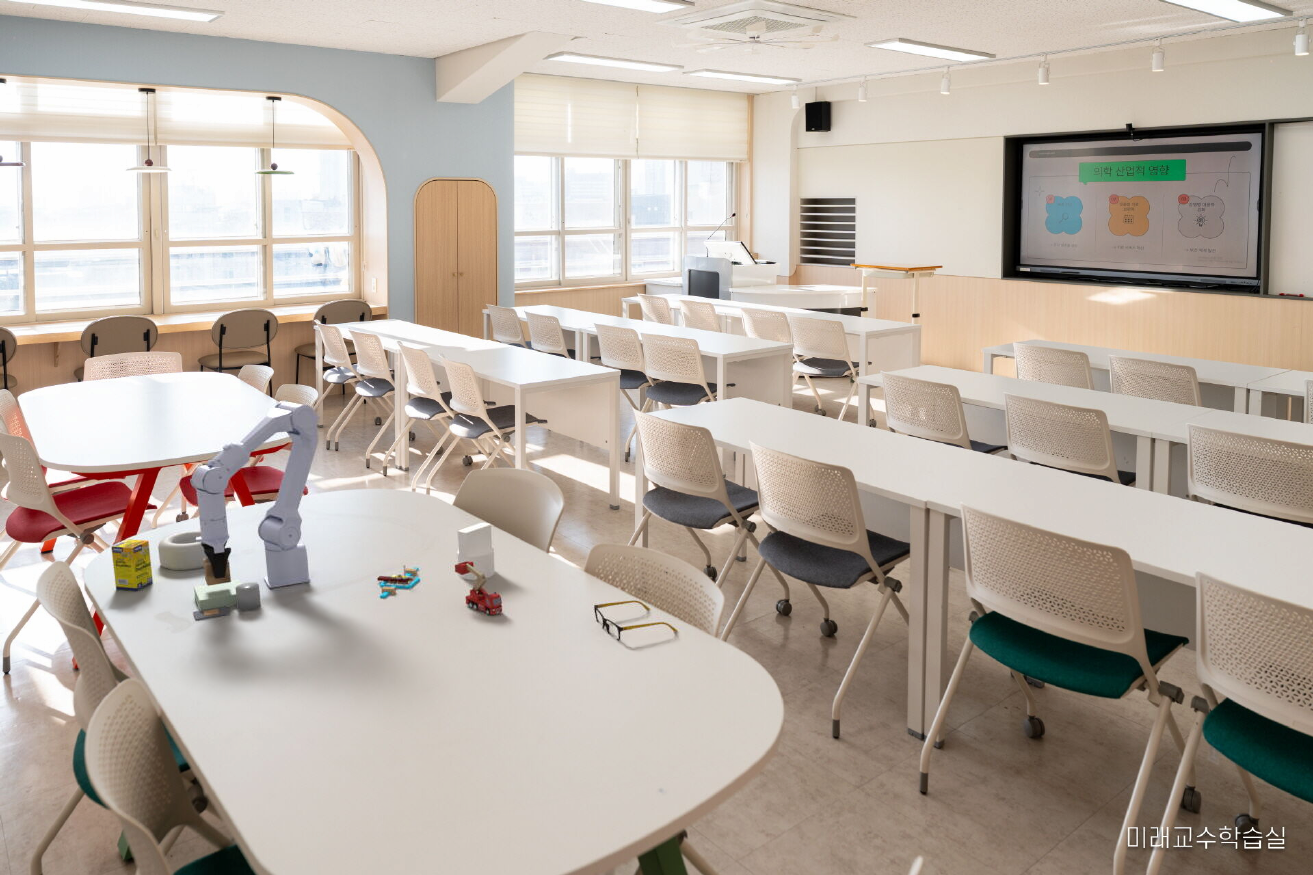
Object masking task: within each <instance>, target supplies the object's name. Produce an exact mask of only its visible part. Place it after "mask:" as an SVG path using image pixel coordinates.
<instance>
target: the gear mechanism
mask: <svg viewBox="0 0 1313 875" xmlns="http://www.w3.org/2000/svg"><path fill="white" fill-rule="evenodd" d="M418 571H419V567H413V568H406V564H403V574H398V575H397V574H393V575H389V576H386V575H384V576H383V575H379V576H377V581H379V582H380V584H379V587H380V588H381V594H380V595H379V598H380V599H386V598H387V597H388V596H390V595H394V594H395V593H396V590H397V589H403V590H404V589H405V590H408V589H409V590H410V589H412V588H413V587H414V586H415V585H416V584H417V583H419V582H420V581H421V579H420V577H419V576H416V575H417V574H418ZM409 581H410V582H409Z"/></svg>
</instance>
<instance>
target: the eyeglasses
mask: <svg viewBox="0 0 1313 875" xmlns="http://www.w3.org/2000/svg"><path fill="white" fill-rule="evenodd" d="M631 603H637V604H639V605H642V607H643V608H644V609H645V610H646V611H649V610H651V608H650V607H648V605H646V604H645V603H643V602H641V601H639V600H626V601H616V602H607V603H599V604H594V606H593V610H594V615H595V619H596V620H595V621H596V622H597V623H599V624H600V621H599V618H598V614H599V615H600V616H601V620H602V627H601V628H602V629H606V632H607V634H608V635H611V632H610V624H612V625H613V626H614V627H615V628H616V629H617V634H618V638H616V641H620V640H621V632H623V631H624V632H625V631H630V630H633V629H641V628H644V627H645V628H646V627H651V626H656V625H665V626H667V627H669V628H670V629H671V631H673V632H674V633H678V629H677V628H675V627H674V626H672V625H671V624H670V623H668V622H664V621H658V622H651V623H650V622H649V623H645V624H644V623H643V624H642V623H641V624H635V625H633V624H632V625H628V626H622V627H621V626H619V625H618V624H616V623H614V622H613V621H612V620H610V619H608V618H605V616H604V615H603V613H602V612H601V611H600V610H599V609H603V608H606V607H612V606H618V605H625V604H631ZM608 622H609V623H610V624H609V623H608Z"/></svg>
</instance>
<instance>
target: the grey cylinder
mask: <svg viewBox="0 0 1313 875" xmlns="http://www.w3.org/2000/svg"><path fill="white" fill-rule="evenodd" d="M235 589H236V598H237V605H236V606H237V611H240V612H253V611H256V610H258V609H260V608H261V606H262V602H261V594H260V593H261V592H260V590H261V589H260V585H259V583H257V582H245V583H241V585H238V586H237V587H236V588H235Z"/></svg>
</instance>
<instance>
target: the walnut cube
mask: <svg viewBox="0 0 1313 875" xmlns="http://www.w3.org/2000/svg"><path fill="white" fill-rule="evenodd" d="M203 563H204V567H203V570H204V572H203V573H204V580H205V582H206V585H208V586H210V585H216V584H222V583H229V582H231V581H232V577H231V570H230V561H229V559H228V561H227V567H226V575H225V577H224V578H218V579H215V576H214V574H213V570H212V567H211V563H210V561H209V559H208V558H205V559H203Z"/></svg>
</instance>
